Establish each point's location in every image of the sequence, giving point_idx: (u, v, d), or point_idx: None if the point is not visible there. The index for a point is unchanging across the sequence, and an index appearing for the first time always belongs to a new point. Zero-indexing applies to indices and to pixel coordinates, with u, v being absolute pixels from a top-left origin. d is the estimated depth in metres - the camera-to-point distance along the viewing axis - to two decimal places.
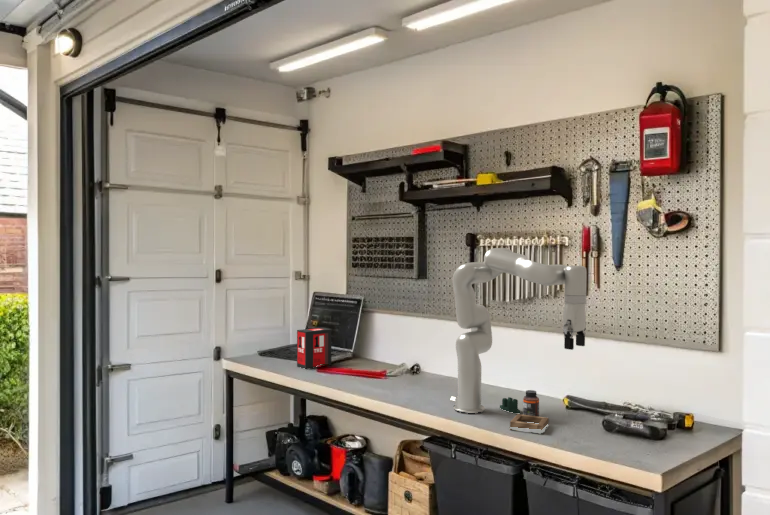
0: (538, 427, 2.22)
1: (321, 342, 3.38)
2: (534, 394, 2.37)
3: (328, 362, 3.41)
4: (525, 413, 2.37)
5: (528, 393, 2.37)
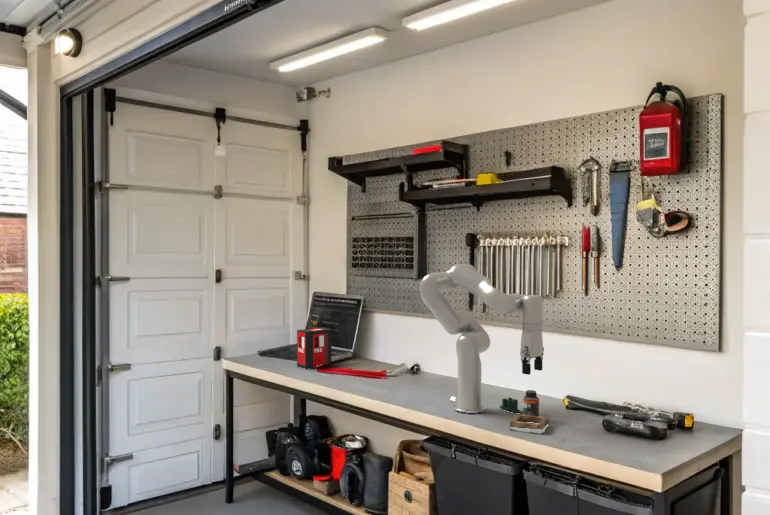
0: (538, 427, 2.22)
1: (321, 342, 3.38)
2: (534, 394, 2.37)
3: (328, 362, 3.41)
4: (525, 413, 2.37)
5: (528, 393, 2.37)
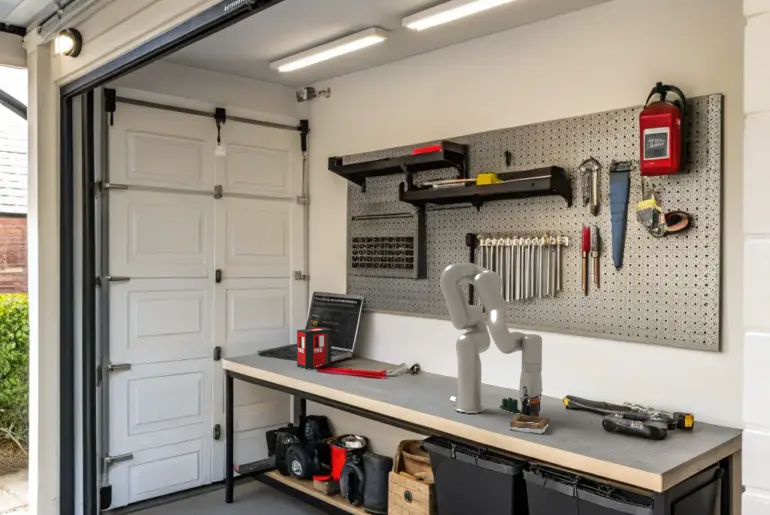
0: (538, 427, 2.22)
1: (321, 342, 3.38)
2: None
3: (328, 362, 3.41)
4: None
5: None
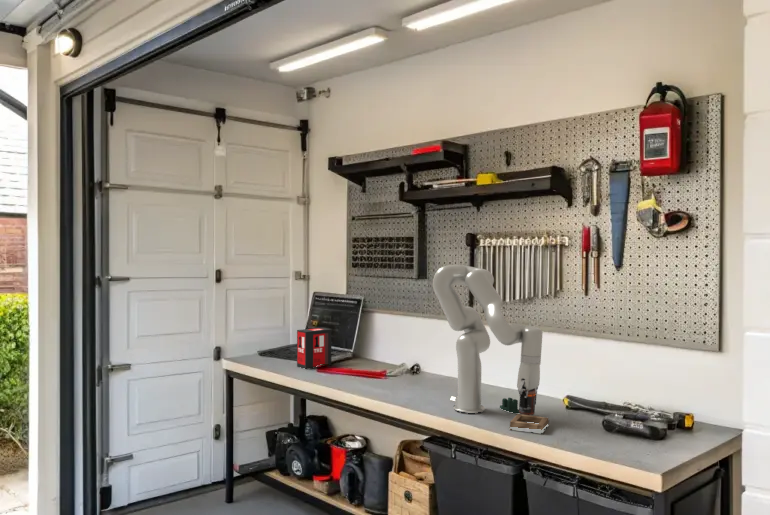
0: (538, 427, 2.22)
1: (321, 342, 3.38)
2: None
3: (328, 362, 3.41)
4: None
5: None
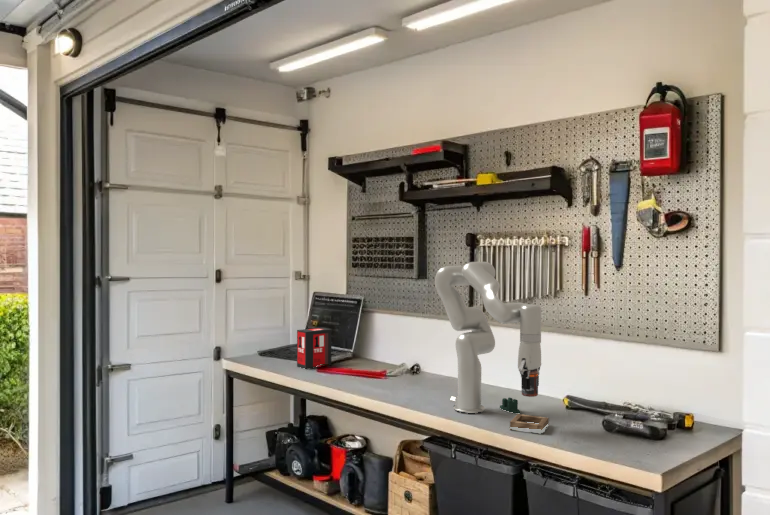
0: (538, 427, 2.22)
1: (321, 342, 3.38)
2: None
3: (328, 362, 3.41)
4: None
5: None
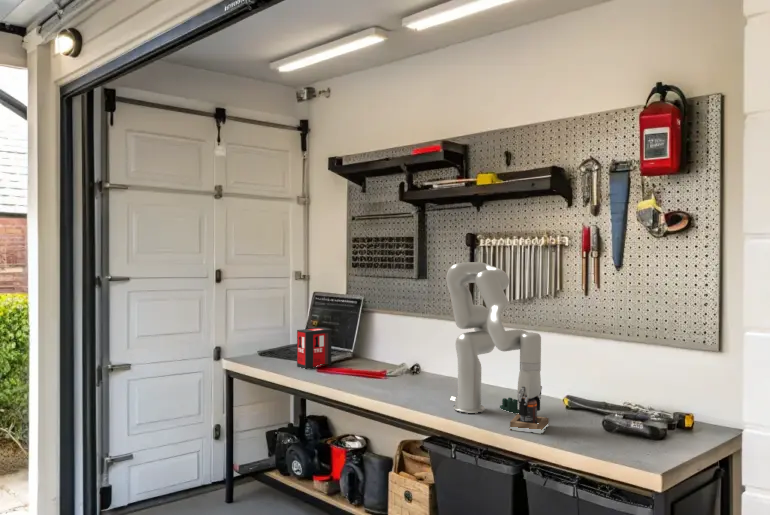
0: (538, 427, 2.22)
1: (321, 342, 3.38)
2: None
3: (328, 362, 3.41)
4: (522, 417, 2.28)
5: None
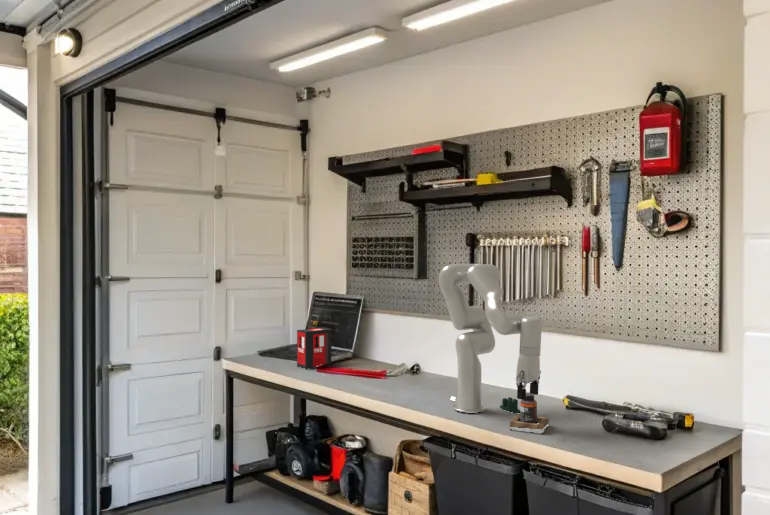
0: (538, 427, 2.22)
1: (321, 342, 3.38)
2: (532, 397, 2.28)
3: (328, 362, 3.41)
4: (522, 417, 2.28)
5: None
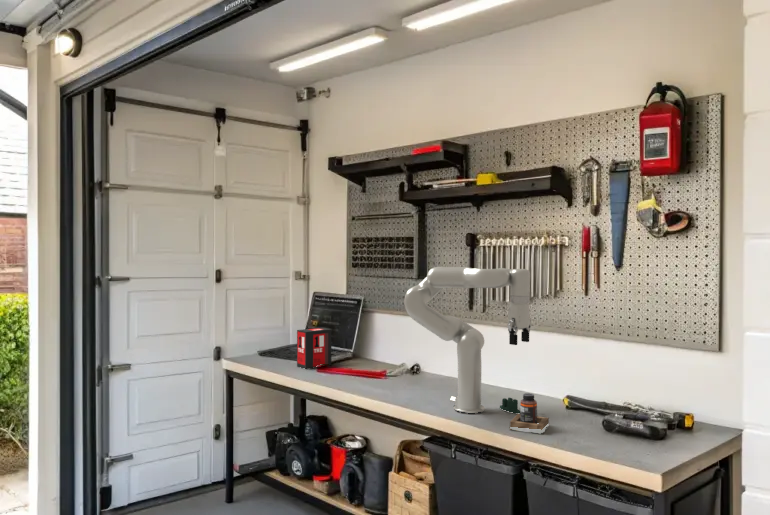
0: (538, 427, 2.22)
1: (321, 342, 3.38)
2: (532, 397, 2.28)
3: (328, 362, 3.41)
4: (522, 417, 2.28)
5: (525, 396, 2.28)
